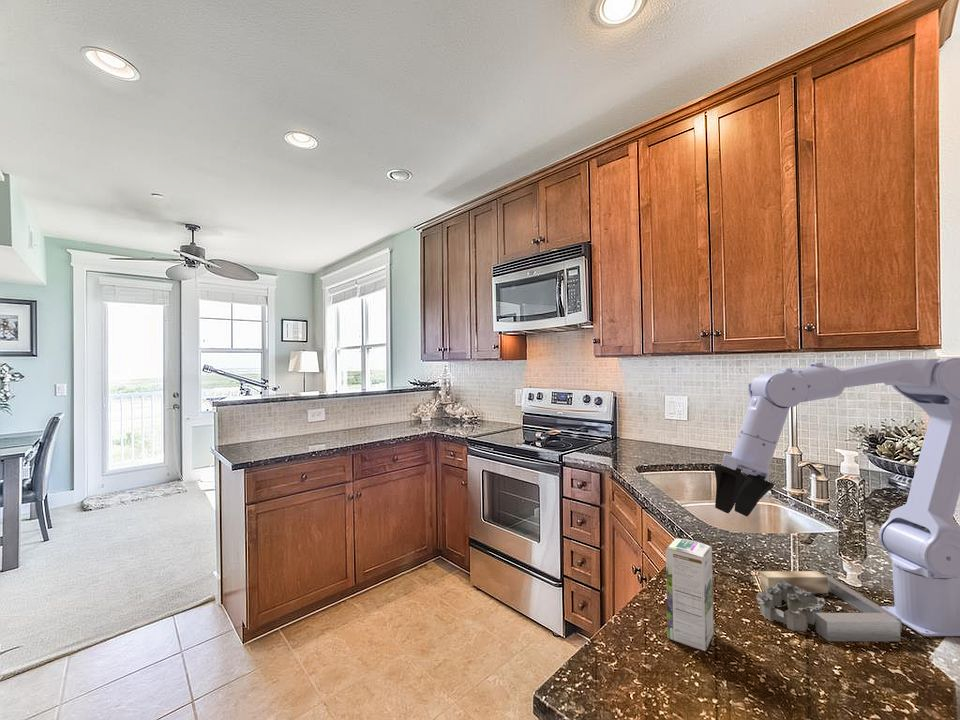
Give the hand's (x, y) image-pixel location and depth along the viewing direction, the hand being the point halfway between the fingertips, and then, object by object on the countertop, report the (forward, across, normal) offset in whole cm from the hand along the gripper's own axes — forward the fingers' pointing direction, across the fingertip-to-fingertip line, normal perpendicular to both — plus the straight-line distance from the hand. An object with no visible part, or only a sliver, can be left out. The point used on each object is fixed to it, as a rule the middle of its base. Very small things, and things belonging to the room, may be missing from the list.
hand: (731, 512), depth 74 cm
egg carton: (+14, -13, +9) cm, 21 cm away
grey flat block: (+11, -19, +12) cm, 25 cm away
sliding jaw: (+11, -22, +6) cm, 26 cm away
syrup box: (+20, +6, +3) cm, 22 cm away
